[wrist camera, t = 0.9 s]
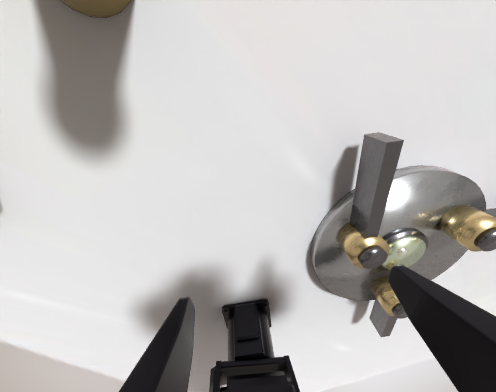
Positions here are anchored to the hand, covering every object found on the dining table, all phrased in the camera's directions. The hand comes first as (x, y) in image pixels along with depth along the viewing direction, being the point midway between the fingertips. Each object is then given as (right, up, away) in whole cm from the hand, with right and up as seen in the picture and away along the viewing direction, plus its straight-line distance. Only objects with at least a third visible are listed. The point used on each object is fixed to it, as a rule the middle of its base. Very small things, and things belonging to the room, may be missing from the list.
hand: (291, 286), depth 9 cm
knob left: (+9, +4, +10) cm, 14 cm away
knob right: (+25, +2, +13) cm, 28 cm away
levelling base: (+15, -3, +16) cm, 23 cm away
